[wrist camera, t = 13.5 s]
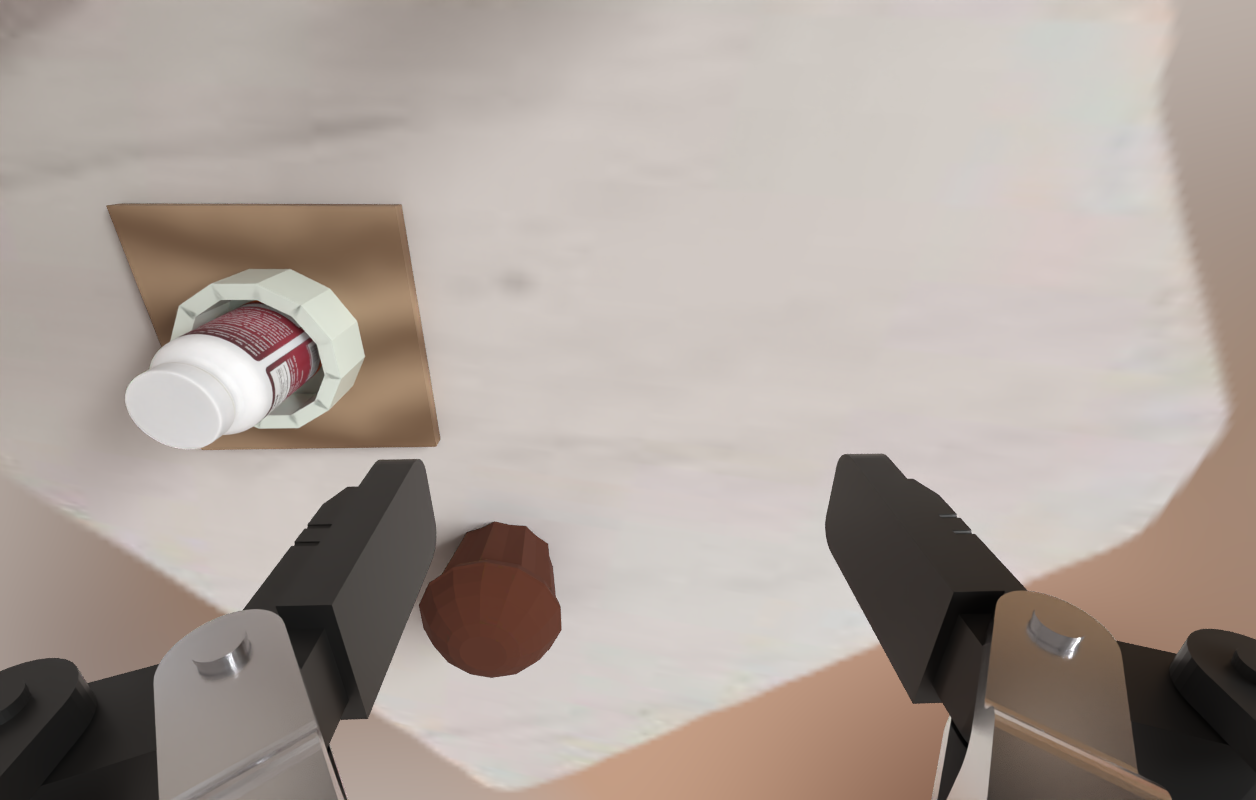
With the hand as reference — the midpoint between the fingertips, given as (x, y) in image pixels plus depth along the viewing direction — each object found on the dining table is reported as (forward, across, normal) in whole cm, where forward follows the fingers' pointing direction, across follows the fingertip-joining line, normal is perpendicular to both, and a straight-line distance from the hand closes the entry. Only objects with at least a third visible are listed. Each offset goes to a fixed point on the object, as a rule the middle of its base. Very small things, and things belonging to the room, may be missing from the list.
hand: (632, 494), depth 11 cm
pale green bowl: (+29, +23, +7) cm, 38 cm away
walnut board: (+30, +23, +7) cm, 39 cm away
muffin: (+30, +10, +29) cm, 43 cm away
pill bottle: (+29, +23, +7) cm, 37 cm away
